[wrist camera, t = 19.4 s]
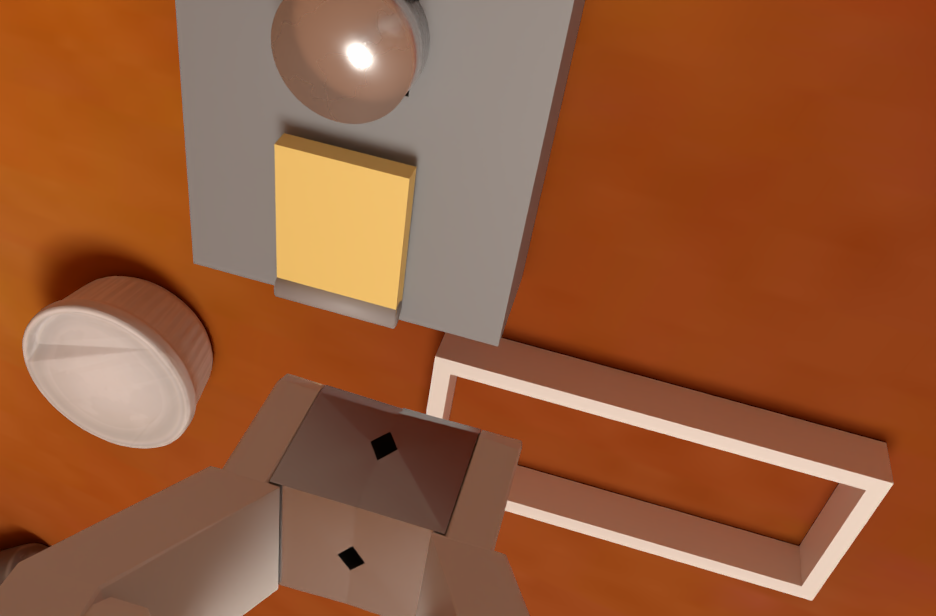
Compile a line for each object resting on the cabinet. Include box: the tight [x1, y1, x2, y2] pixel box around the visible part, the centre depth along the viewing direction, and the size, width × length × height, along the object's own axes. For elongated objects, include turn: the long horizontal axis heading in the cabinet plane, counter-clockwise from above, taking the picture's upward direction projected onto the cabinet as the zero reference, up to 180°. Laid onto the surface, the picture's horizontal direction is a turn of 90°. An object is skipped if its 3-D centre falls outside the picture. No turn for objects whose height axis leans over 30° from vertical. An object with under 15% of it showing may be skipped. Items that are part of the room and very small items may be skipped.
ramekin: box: [22, 276, 213, 448], centre depth 55 cm, size 11×11×5 cm
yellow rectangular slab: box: [274, 133, 416, 329], centre depth 40 cm, size 6×9×1 cm
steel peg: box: [271, 0, 430, 124], centre depth 36 cm, size 6×6×8 cm
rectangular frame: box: [426, 332, 894, 601], centre depth 52 cm, size 25×11×3 cm, turn 82°
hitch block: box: [175, 0, 585, 347], centre depth 40 cm, size 16×20×6 cm
